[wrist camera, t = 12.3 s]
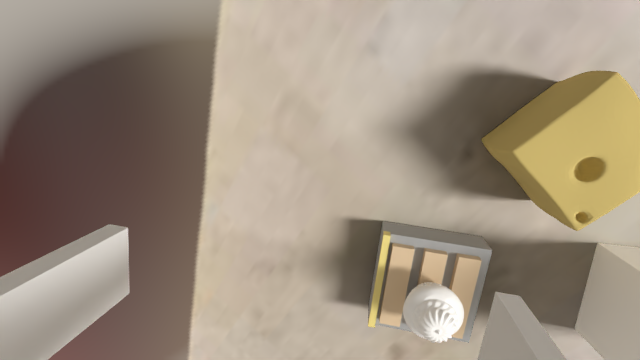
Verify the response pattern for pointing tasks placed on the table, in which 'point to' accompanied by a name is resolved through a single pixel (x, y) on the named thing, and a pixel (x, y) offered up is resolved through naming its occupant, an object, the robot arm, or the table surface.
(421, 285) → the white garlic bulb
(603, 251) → the milk
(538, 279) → the table surface
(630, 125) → the cheese
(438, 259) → the dock
